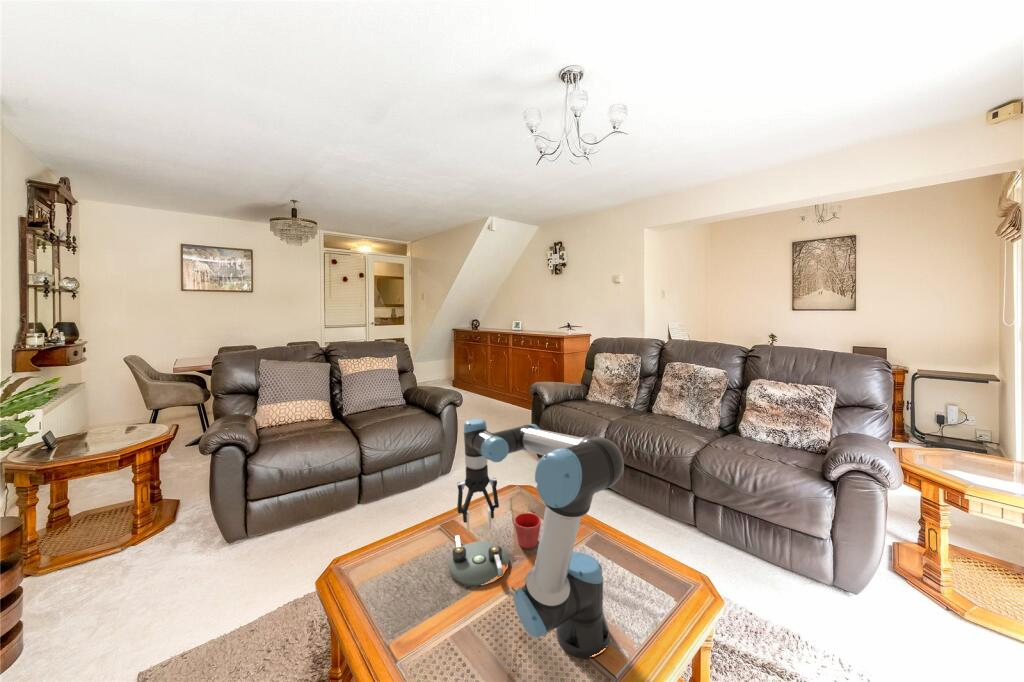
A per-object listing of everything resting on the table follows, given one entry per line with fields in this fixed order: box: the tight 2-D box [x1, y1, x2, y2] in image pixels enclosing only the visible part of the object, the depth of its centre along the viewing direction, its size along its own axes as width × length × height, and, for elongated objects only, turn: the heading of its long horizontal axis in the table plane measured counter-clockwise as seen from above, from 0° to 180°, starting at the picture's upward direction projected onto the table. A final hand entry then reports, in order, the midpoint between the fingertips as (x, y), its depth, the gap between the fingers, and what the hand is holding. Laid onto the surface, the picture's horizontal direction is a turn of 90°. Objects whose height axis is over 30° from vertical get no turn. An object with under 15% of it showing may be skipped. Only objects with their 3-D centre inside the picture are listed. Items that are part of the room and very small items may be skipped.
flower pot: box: [513, 512, 542, 549], centre depth 156 cm, size 11×11×10 cm
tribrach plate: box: [448, 540, 510, 587], centre depth 144 cm, size 22×22×2 cm
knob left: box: [452, 534, 466, 563], centre depth 148 cm, size 12×5×4 cm, turn 13°
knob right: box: [488, 546, 504, 577], centre depth 140 cm, size 12×5×4 cm, turn 13°
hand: (478, 528), depth 134 cm, fingers open, 7 cm apart
